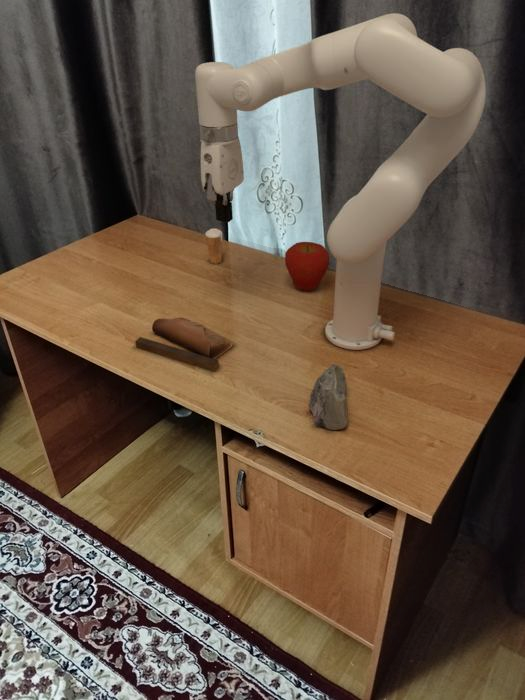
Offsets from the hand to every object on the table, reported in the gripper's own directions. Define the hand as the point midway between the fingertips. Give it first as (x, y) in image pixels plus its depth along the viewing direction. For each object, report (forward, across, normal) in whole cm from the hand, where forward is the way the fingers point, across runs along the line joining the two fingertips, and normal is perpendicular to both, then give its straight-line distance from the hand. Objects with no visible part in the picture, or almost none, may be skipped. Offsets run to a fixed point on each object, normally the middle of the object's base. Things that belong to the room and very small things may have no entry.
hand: (224, 220), depth 124 cm
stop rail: (+23, -21, +1) cm, 31 cm away
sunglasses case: (+23, -14, +1) cm, 27 cm away
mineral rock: (+23, -22, -35) cm, 47 cm away
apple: (+23, +18, -12) cm, 32 cm away
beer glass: (+23, +21, +17) cm, 36 cm away
